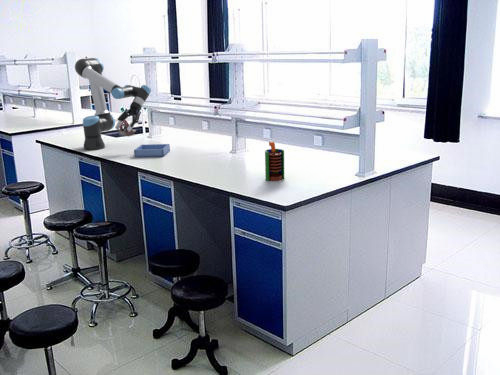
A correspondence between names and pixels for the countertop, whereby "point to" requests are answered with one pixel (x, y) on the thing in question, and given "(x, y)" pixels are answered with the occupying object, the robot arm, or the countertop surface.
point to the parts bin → (152, 150)
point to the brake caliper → (125, 130)
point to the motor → (274, 163)
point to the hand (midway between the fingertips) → (122, 129)
